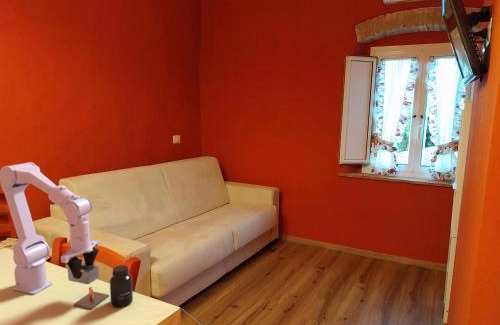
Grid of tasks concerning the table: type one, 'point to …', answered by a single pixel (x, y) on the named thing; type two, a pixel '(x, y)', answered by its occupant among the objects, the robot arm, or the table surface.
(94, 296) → the keeper
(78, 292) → the table surface
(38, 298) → the table surface
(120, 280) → the supplement bottle
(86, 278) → the hollow rectangular frame
